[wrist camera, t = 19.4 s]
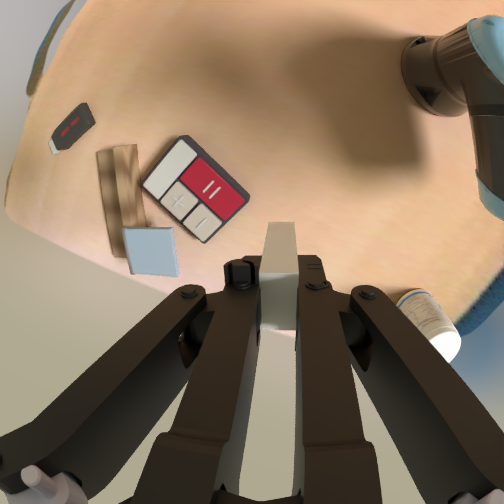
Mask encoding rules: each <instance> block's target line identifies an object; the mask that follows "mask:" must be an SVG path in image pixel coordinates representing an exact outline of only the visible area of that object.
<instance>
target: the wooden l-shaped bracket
mask: <svg viewBox="0 0 504 504" xmlns="http://www.w3.org/2000/svg"><path fill="white" fill-rule="evenodd" d="M97 153H98V163H99V172H100V180H101V188H102V195H103V201H104V207H105V213H106V219H107V224H108V230H109V235H110V240H111V244H112V249H113V253H114V257H120V258H127V255H126V250H125V246H124V241H123V235H122V230H121V227H124V226H128V227H147V225H146V219H145V212H144V205H143V197H142V190H141V181H140V172H139V162H138V151H137V144H134V145H126V146H119V147H114V148H113V149H108V150H103V151H99V152H97Z"/></svg>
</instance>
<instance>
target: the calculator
mask: <svg viewBox="0 0 504 504" xmlns="http://www.w3.org/2000/svg"><path fill="white" fill-rule="evenodd" d="M141 186H142V187H143V188H144V189H145V190H146V191H147V192H148V193H149V194H150V195H151V196H153V197H154V198H155V199H156V200H157V201H158V202H159V203H160V204H161V205H162V206H163V207H164V208H165V209H166V210H167V211H168V212H170V213H171V214H172V215H173V216H174V217H175V218H176V219H177V220H178V221H179V222H180V223H181V224H182V225H183V226H185V227H186V228H187V229H188V230H189V231H190V232H191V233H192V234H193V235H194V236H195V237H196V238H198V239H199V240H200V241H201V242H202V243H204V244H205V243H206V242H207V241H209V240H210V239H211V238H212V237H213V236H214V235H215V234H216V233H217V232H218V231H219V230H220V229H221V228H222V227H223V226H224V225H225V224H226V223H227V222H228V221H229V220H230V219H231V218H232V217H233V216H234V215H235V214H236V213H237V212H238V211H239V210H240V209H241V208H243V207H244V206H245V205H246V204H247V203H248V202H249V199H250V195H249V193H248V192H247V191H246V190H245V189H244V188H243V187H242V186H241V185H239V184H238V183H237V182H236V181H235V180H234V179H233V178H232V177H231V176H230V175H229V174H228V173H227V172H226V171H225V170H224V169H223V168H222V167H221V166H220V165H219V164H218V163H217V162H216V161H215V160H214V159H213V158H211V157H210V156H209V155H208V154H207V153H206V152H205V150H204V149H203V148H202V147H200V146H199V145H198V144H197V143H196V142H195V141H194V140H193V139H192V138H191V137H190V136H189V135H185V136H180V137H179V138H178V139H177V140H176V141H175V142H174V144H173V145H172V146H171V147H170V148H169V149H168V151H167V152H166V153H165V154H164V155H163V157H162V158H161V159H160V160H159V161H158V163H157V164H156V165H155V166H154V168H153V169H152V170H151V171H150V173H149V174H148V175H147V177H146V178H145V179H144V180H143V182H142V183H141Z"/></svg>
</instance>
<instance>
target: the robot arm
mask: <svg viewBox="0 0 504 504" xmlns="http://www.w3.org/2000/svg"><path fill="white" fill-rule="evenodd" d="M401 69H402V74H403V78H404V81H405V83H406V85H407V87H408V89H409V91H410V93H411V94H412V96H413V97H414V98H415V100H416V101H417V102H418V103H419V104H420V105H421V106H422V107H424V108H425V109H426V110H428V111H429V112H431V113H433V114H435V115H438V116H441V117H457V116H460V115H463V114H465V113H466V112H467V111H468V112H469V118H470V124H471V130H472V136H473V143H474V151H475V160H476V170H475V171H476V177H477V179H478V189H479V197H480V200H481V202H482V203H483V205H484V207H485V208H486V209H487V210H488V211H489V212H490V213H491V214H493V215H494V216H496V217H497V218H499V219H501V220H503V221H504V18H503V17H500V16H496V15H487V16H484V17H481V18H474V19H471V20H470V21H469V22H468V23H466V24H464V25H462V26H460V27H458V28H456V29H455V30H453V31H451V32H449V33H447V34H445V35H444V36H422V37H419V38H417V39H415V40H413V41H412V42H410V43H409V44H408V45H407V46H406V48H405V49H404V51H403V54H402V59H401ZM478 115H479V116H478ZM480 115H485V116H480ZM486 115H490V116H486ZM224 275H225V287H224V289H223V291H220V292H217V293H211V294H206V292H205V289H204V288H203V287H202V286H199V285H193V284H189V285H184V286H182V287H179V288H177V289H176V290H174V291H173V292H172V293H171V294H170V295H169V296H168V297H167V298H165V299H164V300H163V301H162V302H161V303H160V304H159V305H157V306H156V307H155V308H154V309H153V310H152V311H151V312H150V313H148V315H146V316H145V317H144V318H143V319H142V320H141V321H140V322H139V323H137V324H136V325H135V326H134V327H133V328H132V329H131V330H130V331H128V332H127V333H126V334H125V335H124V336H123V337H122V338H121V339H120V340H118V341H117V342H116V343H115V344H114V345H113V346H112V347H111V348H110V349H109V350H108V351H106V352H105V353H104V354H103V355H102V356H101V357H100V358H99V359H98V360H97V361H95V363H93V364H92V365H91V366H90V367H89V368H88V369H87V370H86V371H85V372H84V373H83V374H81V375H80V376H79V377H78V378H77V379H76V380H75V381H74V382H73V383H72V384H71V385H70V386H69V387H68V388H67V389H65V390H64V392H62V393H61V394H60V395H59V396H58V397H57V398H56V399H55V400H54V401H53V402H52V403H51V404H50V405H49V406H48V407H47V408H46V409H45V410H43V411H42V412H41V413H40V414H39V415H38V416H37V417H36V418H35V419H34V420H33V421H32V422H30V423H28V424H26V425H24V426H22V427H20V428H18V429H16V430H14V431H12V432H10V433H8V434H6V435H4V436H2V437H0V489H1V490H2V491H3V492H4V493H5V495H6V497H7V499H8V502H9V504H88V500H89V499H91V498H93V497H94V496H96V495H97V494H98V493H99V492H100V491H102V490H103V489H104V488H105V487H106V486H107V485H108V484H109V483H110V482H111V480H113V478H114V477H115V476H116V475H117V473H118V472H119V471H120V470H121V468H122V467H123V466H124V465H125V463H126V462H127V461H128V459H129V458H130V457H131V455H132V454H133V453H134V452H135V450H136V449H137V448H138V446H139V445H140V444H141V443H142V441H143V440H144V439H145V437H146V436H147V435H148V434H149V432H150V431H151V430H152V428H153V427H154V426H155V424H156V423H157V422H158V420H159V419H160V418H161V416H162V415H163V414H164V412H165V411H166V410H167V408H168V407H169V406H170V404H171V403H172V402H173V400H174V399H175V398H176V396H177V395H178V394H179V392H180V391H181V390H182V388H183V387H184V386H185V384H186V383H187V381H188V380H189V381H188V384H187V386H186V389H185V392H184V395H183V397H182V400H181V403H180V405H179V408H178V411H177V413H176V416H175V419H174V421H173V424H172V427H171V429H170V430H169V431H168V432H163V433H160V434H159V435H158V436H157V437H156V440H155V442H154V443H153V446H152V448H151V451H150V453H149V456H148V459H147V461H146V464H145V466H144V469H143V471H142V474H141V477H140V479H139V482H138V484H137V487H136V490H135V493H134V495H133V496H132V497H130V498H128V499H126V500H125V501H123V502H121V503H119V504H382V495H381V486H380V478H379V472H378V464H377V457H376V453H375V449H374V446H373V444H372V443H371V442H368V441H366V440H365V438H364V433H363V428H362V421H361V415H360V409H359V404H358V398H357V393H356V388H355V383H354V378H353V373H352V368H351V365H352V366H353V368H354V370H355V372H356V373H357V375H358V377H359V379H360V381H361V382H362V384H363V386H364V388H365V389H366V391H367V393H368V395H369V397H370V399H371V400H372V402H373V404H374V406H375V408H376V409H377V412H378V413H379V415H380V417H381V419H382V420H383V423H384V425H385V426H386V428H387V430H388V432H389V434H390V436H391V438H392V439H393V441H394V443H395V445H396V447H397V449H398V451H399V453H400V455H401V457H402V459H403V461H404V463H405V465H406V466H407V469H408V471H409V473H410V474H411V476H412V478H413V480H414V483H415V485H416V487H417V489H418V490H419V493H420V494H421V496H422V498H423V499H424V501H425V503H426V504H504V433H503V431H502V430H501V429H500V427H499V426H498V425H497V423H496V422H495V420H494V419H493V418H492V417H491V415H490V414H489V412H488V411H487V410H486V409H485V407H484V406H483V405H482V404H481V402H480V401H479V400H478V398H477V397H476V396H475V394H474V393H473V392H472V391H471V390H470V388H469V387H468V386H467V385H466V383H465V382H464V381H463V380H462V378H461V377H460V376H459V375H458V374H457V373H456V371H455V370H454V369H453V368H452V367H451V365H450V364H449V363H448V362H447V361H446V360H445V358H444V357H443V356H442V355H441V354H440V353H439V352H438V350H437V349H436V348H435V347H434V346H433V345H432V344H431V343H430V341H429V340H428V339H427V338H426V337H425V336H424V335H423V334H422V333H421V332H420V330H419V329H418V328H417V327H416V326H415V325H414V324H413V323H412V322H411V321H410V320H409V319H408V317H407V316H406V315H405V314H404V313H403V312H402V311H401V310H400V309H399V308H398V307H397V306H396V305H395V304H394V303H393V302H392V301H391V300H390V299H389V298H388V297H387V296H386V295H385V294H384V293H383V292H382V291H381V290H380V289H378V288H376V287H373V286H371V285H360V286H357V287H354V288H353V289H352V291H351V295H350V294H344V293H340V292H337V291H334V290H333V288H332V285H331V283H330V282H329V281H327V280H326V277H325V273H324V269H323V265H322V261H321V259H320V258H319V257H317V256H316V255H297V246H296V235H295V225H294V222H269V224H268V229H267V234H266V239H265V244H264V250H263V255H262V256H244V257H243V258H242V259H235V260H231V261H229V262H227V263H226V264H225V265H224ZM260 325H261V330H296V340H295V351H296V422H295V423H296V424H295V455H294V478H293V489H292V496H290V497H285V498H280V499H274V500H268V501H255V500H251V499H248V498H245V497H242V496H239V479H240V472H241V465H242V460H243V453H244V447H245V441H246V434H247V427H248V421H249V415H250V408H251V401H252V394H253V387H254V380H255V373H256V366H257V359H258V352H259V344H260ZM180 335H181V336H180Z"/></svg>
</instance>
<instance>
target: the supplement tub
mask: <svg viewBox="0 0 504 504" xmlns="http://www.w3.org/2000/svg"><path fill="white" fill-rule="evenodd" d="M396 306H397V307H398V308H399V309H400V310H401V311H402V312H403V313H404V314H405V315H406V316H407V317H408V319H409V320H410V321H411V322H412V323H413V324H414V325H415V326H416V327H417V328H418V329H419V330H420V332H421V333H422V334H423V335H424V336H425V337H426V338H427V339H428V340H429V341H430V343H431V344H432V345H433V346H434V347H435V348H436V349H437V350H438V352H439V353H440V354H441V355H442V356H443V357H444V358H445V360H446V361H447V362H448V363H449V362H450V361H451V360H452V359H453V358H454V357H455V355H456V354H457V353H458V351H459V348H460V344H461V338H460V336H459V334H458V331H457V330H456V328H455V327H454V325H453V324H452V322H451V321H450V320H449V318H448V317H447V315H446V314H445V313H444V311H443V310H442V309H441V307H440V306H439V304H438V303H437V302H436V300H435V299H434V298H433V296H432V295H431V294H430V293H429V292H427V291H426V290H422V289H416V290H412V291H410V292H408V293H406V294H405V295H404V296H403V297H401V298H400V300H399V301H398V303H397V304H396Z"/></svg>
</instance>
